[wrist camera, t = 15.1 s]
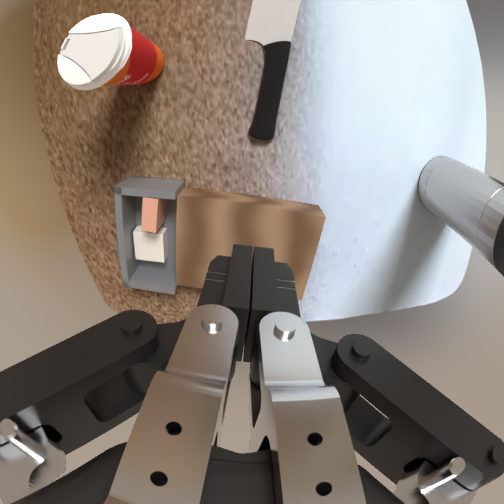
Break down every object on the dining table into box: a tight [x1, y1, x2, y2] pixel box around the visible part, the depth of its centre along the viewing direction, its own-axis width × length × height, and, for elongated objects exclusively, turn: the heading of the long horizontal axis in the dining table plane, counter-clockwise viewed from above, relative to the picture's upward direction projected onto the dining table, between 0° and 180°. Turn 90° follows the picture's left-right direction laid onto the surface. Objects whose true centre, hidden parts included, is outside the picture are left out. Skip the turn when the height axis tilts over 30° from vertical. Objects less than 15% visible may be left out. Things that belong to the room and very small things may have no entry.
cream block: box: [133, 225, 168, 263], centre depth 38 cm, size 4×4×2 cm
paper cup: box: [57, 13, 165, 90], centre depth 20 cm, size 8×8×14 cm
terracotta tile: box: [141, 197, 168, 233], centre depth 34 cm, size 4×4×2 cm
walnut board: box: [176, 188, 325, 300], centre depth 37 cm, size 18×13×4 cm
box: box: [114, 176, 185, 295], centre depth 36 cm, size 8×15×5 cm, turn 172°
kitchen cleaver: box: [245, 0, 302, 140], centre depth 24 cm, size 31×2×10 cm
